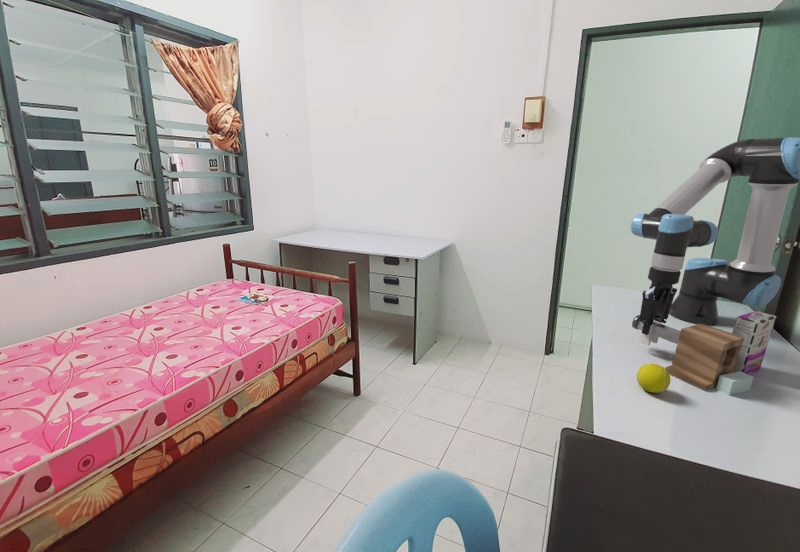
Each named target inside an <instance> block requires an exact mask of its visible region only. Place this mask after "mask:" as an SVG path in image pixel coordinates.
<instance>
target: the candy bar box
mask: <svg viewBox="0 0 800 552" xmlns="http://www.w3.org/2000/svg"><path fill="white" fill-rule="evenodd" d="M776 318H777V316H776V315H773V314H770V313H767V312H762V311H758V310H754V311H751V312H748V313H745V314H742V315H738V316H736V319H735V322H734V326H733V330H732V334H735V335H738V336H741V337H744V341H743V344H742V347H741V350H740V353H739V357H738V360H737V363H736V366H735V369H734V371H735V372H740V371H741V372H743V373H746V374H748V375H750V374H751V373H754V372H756V371H759V370H760V369H761V366H762V364H763V360H764V358H765V354H766V351H767V347H768V344H769V342H770V338H771V335H772V332H773V328H774V327H775V322H776Z"/></svg>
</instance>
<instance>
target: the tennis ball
mask: <svg viewBox="0 0 800 552" xmlns="http://www.w3.org/2000/svg"><path fill="white" fill-rule="evenodd" d="M636 380H637V383H638V385H639V386H640V387H641V388H642V389H643V390H645V391H647V392H649V393H652V394H653V393H654V394H659V393H662V392H665V391H666V390H667V389H668V388H669V387H670V384H671V375H670V374H669V373H668V371H667V370H666V369H665V367H664V366H661V365H659V364H657V363H651V362H650V363H645V364H643V365H642V366H640V367H639V368H638V370H637V374H636Z"/></svg>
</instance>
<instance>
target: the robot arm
mask: <svg viewBox="0 0 800 552" xmlns="http://www.w3.org/2000/svg"><path fill="white" fill-rule="evenodd" d="M733 177H748V181H747V184H748V185H749V186H750V187H751V188H752V191H751V195H750V199H749V204H748V208H747V212H746V217H745V219H744V220H745V221H744V225H743V229H742V233H741V238H740V243H739V247H738V252H737V256H736V259H734V260H733V261H730V263H728V262H729V261H727V260H726V259H721V258H711V257H710V258H707V257H704V258H703V257H697V258H694V257H693V258H690V259H688V260H687V262H686V265H685V267H684V272H683V276H682V280H681V284H680V288H679V293H678V295H677V296H676V293H677V291H678V289H677V288H674V287H673V285H677V284H679V281H680V278H681V275H682V273H681V270H682V269H683V266H684V262H685V258H686V253H687V250H688V248H701V247H705V246H709V245H711V244H713V243H714V242H715V241H716V240H717V238H718V236H719V229H718V227H717V225H716V224H715V223H713V222H712V221H710V220H702V219H701V220H700V219H699V220H694V217H693V216H692V215H688V214H687V213H688V212H689V211H691V210H692V209H693V208H694V207H695V206H696V205H697V204H698V203H700V201H701V200H702V199H704V198H705V197H706V196H707V195H708V194H709V193H710V192H711V191H712V190H714V189H715V188H716V187H717V186H718V185H719V184H723V183H725V182H727V181H729V180H730V179H731V178H733ZM799 183H800V137H790V136H788V137H773V138H772V137H770V138H768V137H767V138H746V139H742V140H738V141H734V142H731V143H730V144H728V145H726V146H723V147H722V148H720V149H717V150H716V151H715V152H713V153H712V154H709V156H708V157H706V158H705V159H704V160H703V161H702V162H701V163H700V164H699V167H698V170H696V171H695V172H694V173H693V174H692V175H691V176H690V177H688V179H686V180H685V181H684V182H683V183H682V184H681V185H679V187H677V188H676V189H675V190H674V191H673V192H671V194H670V195H668V196H667V197H666V198H665V199H664V200H663V201H662V202H661V203H660V204H658V205H657V206H656V207H655V208H654V209H653V210H652V211H650V213H646V212H645V213H639V214H636V215H635V216H634V217H633V218H632V220H631V223H630V230H631V233H632V234H633V235H634V236H637V237H640V238H643V239H650V240H654V241H655V245H654V250H653V253H652V255H651V257H652V258H651V261H650V262H651V263H650V264H651V266H650V267H649V271H648V275H647V279H648V280H649V281H650V282H651V284H650V286H649V289H648V290H643V291H642V301H641V308H640V313H639V315H640V318H639V321H640V322H643V328H642V330H641V333H640V337H639V343H641V344H644V345H646V346H650V344H651V343H653V344H657V343H658V341H659V337H657V336H655V335H652V333H653V329H654V325H653V321H654V322H657V323H660V324H666V323H667V320H668V318H669V315H670V316H672V317H675V318H676V319H679V320H682V321H684V322H685V321H686V322H689V323H693V324H701V323H702V324H705V325H716V324H717V323H718V320H719V311H718V310H719V309H718V304H717V301H718V298H721V299H723V300H724V299H725V300H727V301H732V302H735V303H737V304H742V305H744V306H749V307H753V308H762V307H764V306H767V304H769V303H770V302H771V301H772V300H773V299H774V298H775V296H776V295H777V294H778V292H779V291H780V287H781V284H782V278H781V277H780V276H778V275H775V273H776V267H775V266H774V265H773V264H772V259H773V255H774V251H775V247H776V245H777V244H776V243H777V240H778V236H779V232H780V230H781V229H780V228H781V224H782V222H783V217H784V213H785V209H786V206H787V203H788V198H789V194H790V190H791V189H792V188H794V187H796V186H797V185H798V184H799ZM728 264H729V265H728ZM675 296H676V297H675ZM674 298H675V299H674Z"/></svg>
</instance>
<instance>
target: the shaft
mask: <svg viewBox="0 0 800 552" xmlns="http://www.w3.org/2000/svg"><path fill="white" fill-rule="evenodd" d="M639 318H640V314H638V315H637V314H636V316H635V317H634V318H633V320H632V323H631V327H632V328H633V329H635V330H638V331H642V328H643V322H640V321H639ZM654 321H655V320H654ZM654 321H653V325H654V329H653V333H652V335H655V336H657V337H658V338H660V339H663V340H666V341H667V342H670V343H673V344H676V345H677V343H678V340H679V336H680V332H681V330H679V329H676V328H674V327H670V326H668V325H665V324H664V323H662V324H660V323H657V322H654Z"/></svg>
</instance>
